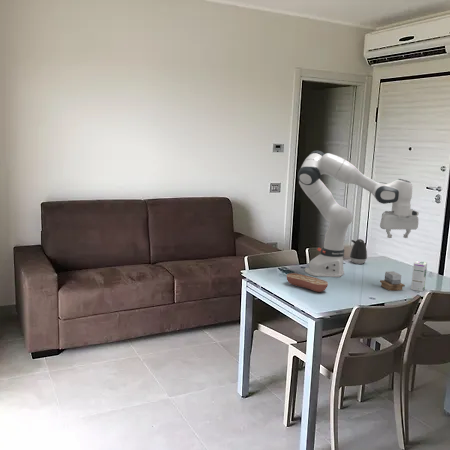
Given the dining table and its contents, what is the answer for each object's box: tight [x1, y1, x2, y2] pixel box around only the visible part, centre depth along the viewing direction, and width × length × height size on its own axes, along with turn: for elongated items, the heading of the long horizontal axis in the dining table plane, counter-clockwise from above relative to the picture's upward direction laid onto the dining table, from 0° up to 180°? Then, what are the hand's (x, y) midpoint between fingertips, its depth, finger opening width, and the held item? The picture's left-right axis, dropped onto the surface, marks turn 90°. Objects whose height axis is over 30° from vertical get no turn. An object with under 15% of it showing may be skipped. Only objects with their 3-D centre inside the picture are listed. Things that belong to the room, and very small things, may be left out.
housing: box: [383, 271, 402, 285], centre depth 260 cm, size 5×7×5 cm
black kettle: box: [349, 238, 368, 265], centre depth 311 cm, size 10×10×15 cm
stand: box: [379, 279, 406, 292], centre depth 261 cm, size 9×9×3 cm
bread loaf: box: [286, 273, 329, 293], centre depth 254 cm, size 23×10×5 cm, turn 48°
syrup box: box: [410, 260, 428, 292], centre depth 260 cm, size 6×6×14 cm
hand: (397, 237), depth 256 cm, fingers open, 8 cm apart
